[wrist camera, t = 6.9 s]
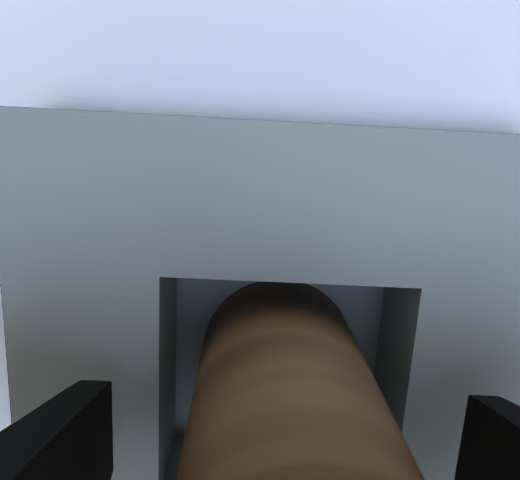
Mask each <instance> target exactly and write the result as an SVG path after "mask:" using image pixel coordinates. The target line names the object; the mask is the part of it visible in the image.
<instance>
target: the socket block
mask: <svg viewBox="0 0 520 480" xmlns="http://www.w3.org/2000/svg"><path fill="white" fill-rule="evenodd" d="M0 281H1V294H2V307H3V320H4V333H5V346H6V359H7V372H8V385H9V397H10V410H11V423H12V424H13V423H14V422H16V421H18V420H19V419H21V418H22V417H24V416H25V415H27V414H28V413H30V412H31V411H33V410H34V409H36V408H37V407H39V406H40V405H42V404H43V403H45V402H46V401H48V400H49V399H51V398H52V397H54V396H55V395H57V394H59V393H60V392H62V391H63V390H65V389H66V388H68V387H69V386H71V385H73V384H74V383H76V382H78V381H80V380H97V381H112V424H113V474H112V477H111V480H175V479H176V474H177V469H178V464H179V459H180V455H181V450H182V445H183V440H184V435H185V430H186V426H187V421H188V416H189V411H190V406H191V402H192V397H193V392H194V387H195V382H196V378H197V373H198V368H199V363H200V358H201V353H202V349H203V344H204V339H205V334H206V331H207V327H208V324H209V322H210V320H211V318H212V316H213V314H214V313H215V311H216V310H217V308H218V307H219V306H220V305H221V304H222V302H223V301H224V300H225V299H227V298H228V297H229V296H230V295H231V294H233V293H234V292H236V291H237V290H239V289H241V288H243V287H245V286H247V285H249V284H252V283H255V282H258V281H262V282H284V283H306V284H308V285H310V286H313V287H315V288H316V289H318V290H320V291H321V292H323V293H324V294H325V295H326V296H328V297H329V298H330V299H331V300H332V301H333V302H334V303H335V304H336V305H337V307H338V308H339V310H340V311H341V313H342V315H343V317H344V319H345V321H346V323H347V325H348V327H349V329H350V331H351V333H352V335H353V337H354V339H355V341H356V343H357V345H358V347H359V349H360V351H361V353H362V355H363V357H364V359H365V361H366V363H367V365H368V367H369V369H370V371H371V373H372V375H373V377H374V379H375V381H376V383H377V385H378V387H379V389H380V391H381V393H382V395H383V397H384V399H385V401H386V403H387V405H388V407H389V409H390V411H391V413H392V415H393V417H394V419H395V421H396V423H397V425H398V427H399V429H400V431H401V433H402V435H403V437H404V439H405V441H406V443H407V445H408V447H409V449H410V451H411V453H412V455H413V457H414V459H415V461H416V463H417V465H418V467H419V469H420V471H421V473H422V475H423V477H424V479H425V480H454V477H455V471H456V466H457V460H458V454H459V448H460V442H461V436H462V430H463V425H464V419H465V413H466V407H467V401H468V395H486V396H499V397H502V398H504V399H506V400H509V401H511V402H513V403H515V404H517V405H519V406H520V134H503V133H485V132H467V131H449V130H430V129H412V128H394V127H376V126H358V125H339V124H321V123H303V122H285V121H267V120H249V119H230V118H212V117H194V116H176V115H158V114H139V113H121V112H103V111H85V110H67V109H49V108H30V107H12V106H0Z"/></svg>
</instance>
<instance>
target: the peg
mask: <svg viewBox="0 0 520 480" xmlns="http://www.w3.org/2000/svg"><path fill="white" fill-rule="evenodd" d="M175 480H425V479H424V477H423V475H422V473H421V471H420V469H419V467H418V465H417V463H416V461H415V459H414V457H413V455H412V453H411V451H410V449H409V447H408V445H407V443H406V441H405V439H404V437H403V435H402V433H401V431H400V429H399V427H398V425H397V423H396V421H395V419H394V417H393V415H392V413H391V411H390V409H389V407H388V405H387V403H386V401H385V399H384V397H383V395H382V393H381V391H380V389H379V387H378V385H377V383H376V381H375V379H374V377H373V375H372V373H371V371H370V369H369V367H368V365H367V363H366V361H365V359H364V357H363V355H362V353H361V351H360V349H359V347H358V345H357V343H356V341H355V339H354V337H353V335H352V333H351V331H350V329H349V327H348V325H347V323H346V321H345V319H344V317H343V315H342V313H341V311H340V310H339V308H338V307H337V305H336V304H335V303H334V302H333V301H332V300H331V299H330V298H329V297H328V296H326V295H325V294H324V293H323V292H321V291H320V290H318V289H316V288H315V287H313V286H310V285H308V284H306V283H284V282H262V281H258V282H255V283H252V284H249V285H247V286H245V287H243V288H241V289H239V290H237V291H236V292H234V293H233V294H231V295H230V296H229V297H228V298H227V299H225V300H224V301H223V302H222V304H221V305H220V306H219V307H218V308H217V310H216V311H215V313H214V314H213V316H212V318H211V320H210V322H209V324H208V327H207V331H206V334H205V339H204V344H203V349H202V353H201V358H200V363H199V368H198V373H197V378H196V382H195V387H194V392H193V397H192V402H191V406H190V411H189V416H188V421H187V426H186V430H185V435H184V440H183V445H182V450H181V455H180V459H179V464H178V469H177V474H176V479H175Z"/></svg>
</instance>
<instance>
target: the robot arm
mask: <svg viewBox="0 0 520 480" xmlns="http://www.w3.org/2000/svg"><path fill="white" fill-rule="evenodd" d="M112 474H113V424H112V381H97V380H80V381H78V382H76V383H74V384H73V385H71V386H69V387H68V388H66V389H65V390H63V391H62V392H60V393H59V394H57V395H55V396H54V397H52V398H51V399H49V400H48V401H46V402H45V403H43V404H42V405H40V406H39V407H37V408H36V409H34V410H33V411H31V412H30V413H28V414H27V415H25V416H24V417H22V418H21V419H19V420H18V421H16V422H14V423H13V424H11V425H10V426H8V427H7V428H5V429H4V430H2V431H1V432H0V480H111V477H112ZM454 480H520V406H519V405H517V404H515V403H513V402H511V401H509V400H506V399H504V398H502V397H499V396H486V395H468V401H467V407H466V413H465V419H464V425H463V430H462V436H461V442H460V448H459V454H458V460H457V466H456V471H455V477H454Z"/></svg>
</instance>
